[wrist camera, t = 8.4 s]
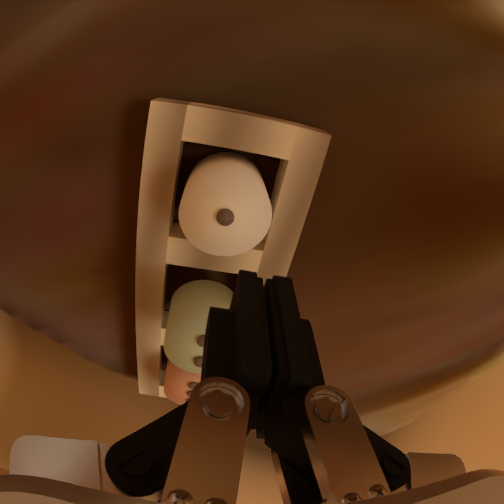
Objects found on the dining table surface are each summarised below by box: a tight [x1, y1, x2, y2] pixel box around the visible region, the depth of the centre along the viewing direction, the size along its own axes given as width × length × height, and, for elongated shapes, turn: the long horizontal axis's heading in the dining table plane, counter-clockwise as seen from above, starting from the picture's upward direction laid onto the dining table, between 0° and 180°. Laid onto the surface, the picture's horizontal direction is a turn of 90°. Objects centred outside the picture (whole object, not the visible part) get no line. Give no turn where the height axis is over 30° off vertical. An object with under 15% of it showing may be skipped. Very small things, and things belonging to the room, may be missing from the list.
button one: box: [178, 152, 272, 256], centre depth 18 cm, size 5×5×4 cm
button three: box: [164, 359, 201, 405], centre depth 26 cm, size 5×5×4 cm
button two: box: [163, 280, 233, 374], centre depth 20 cm, size 5×5×4 cm
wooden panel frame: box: [135, 98, 331, 398], centre depth 23 cm, size 10×26×2 cm, turn 167°
